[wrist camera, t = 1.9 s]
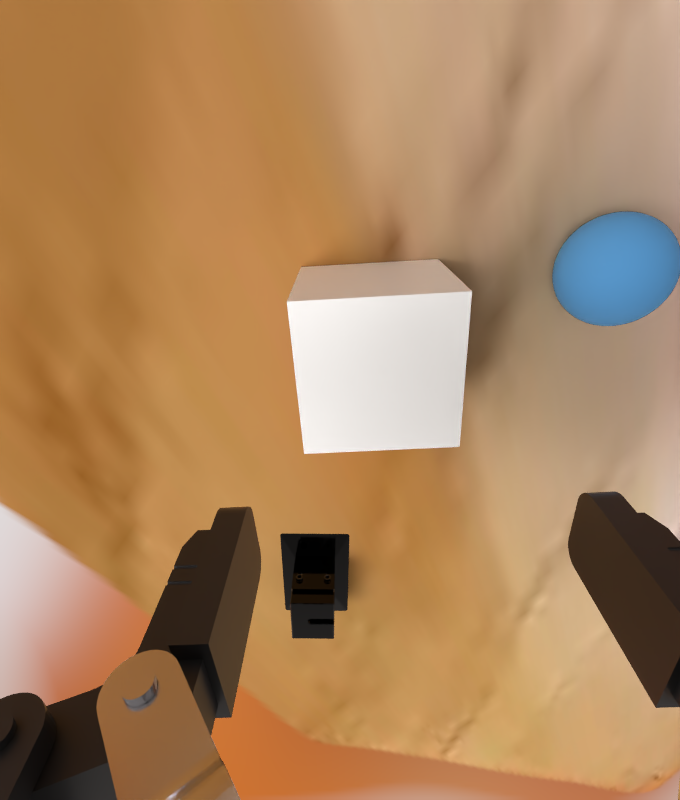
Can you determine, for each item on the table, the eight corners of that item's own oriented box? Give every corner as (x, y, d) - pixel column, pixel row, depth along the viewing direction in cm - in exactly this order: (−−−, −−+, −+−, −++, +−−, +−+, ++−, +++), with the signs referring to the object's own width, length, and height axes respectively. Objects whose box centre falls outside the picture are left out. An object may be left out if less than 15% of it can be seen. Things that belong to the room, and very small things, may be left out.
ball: (544, 210, 21) (596, 221, 17) (649, 203, 21) (730, 213, 17) (529, 311, 24) (572, 344, 19) (624, 306, 24) (689, 338, 19)
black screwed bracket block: (359, 621, 37) (361, 677, 33) (271, 620, 37) (262, 676, 33) (365, 505, 31) (368, 555, 27) (260, 503, 31) (248, 554, 27)
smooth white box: (301, 267, 23) (286, 301, 17) (438, 258, 22) (472, 291, 17) (312, 389, 26) (304, 453, 20) (432, 383, 26) (459, 446, 20)
